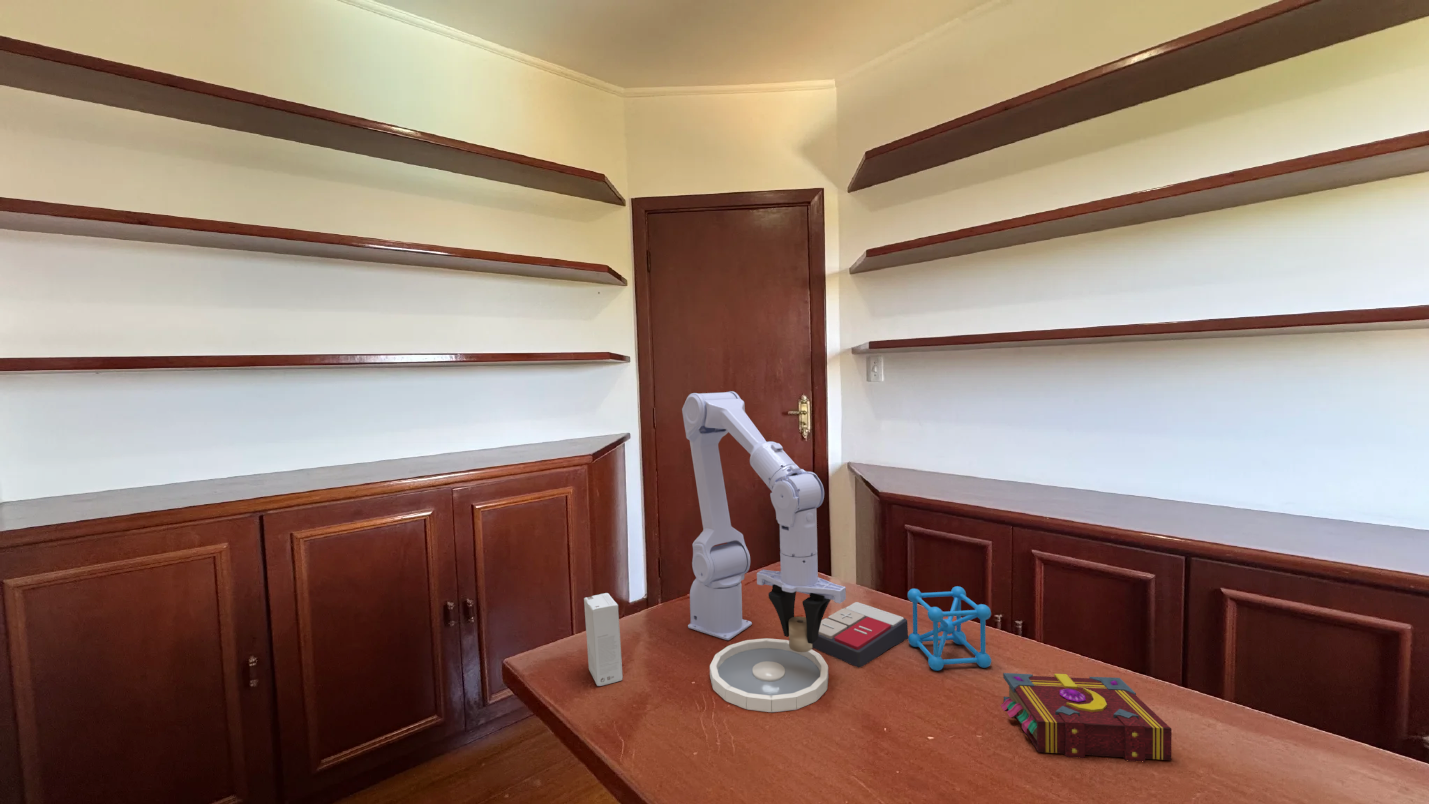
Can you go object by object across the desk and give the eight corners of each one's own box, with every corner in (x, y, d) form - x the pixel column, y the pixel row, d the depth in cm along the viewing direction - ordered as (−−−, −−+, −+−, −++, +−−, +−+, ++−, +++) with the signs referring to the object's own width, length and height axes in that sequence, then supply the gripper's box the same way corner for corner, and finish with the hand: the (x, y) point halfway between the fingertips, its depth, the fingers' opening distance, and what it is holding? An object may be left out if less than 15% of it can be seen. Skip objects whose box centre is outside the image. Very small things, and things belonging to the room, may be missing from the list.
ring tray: (687, 685, 85) (686, 674, 85) (751, 639, 100) (751, 629, 99) (791, 727, 74) (791, 714, 74) (846, 668, 89) (846, 657, 89)
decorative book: (1174, 766, 66) (1174, 724, 65) (1027, 757, 68) (1027, 716, 68) (1119, 709, 77) (1119, 673, 77) (994, 703, 79) (994, 668, 79)
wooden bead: (785, 648, 87) (784, 622, 87) (796, 639, 90) (795, 614, 90) (805, 654, 85) (805, 628, 85) (816, 645, 88) (815, 619, 88)
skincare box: (623, 680, 87) (621, 604, 87) (595, 688, 85) (592, 610, 85) (613, 663, 93) (610, 591, 92) (586, 669, 91) (583, 596, 90)
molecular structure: (994, 670, 87) (994, 607, 87) (932, 674, 87) (931, 610, 86) (962, 640, 97) (961, 583, 97) (906, 643, 97) (905, 586, 96)
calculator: (804, 626, 97) (855, 597, 107) (806, 649, 97) (856, 619, 107) (858, 648, 89) (908, 615, 98) (859, 674, 89) (909, 638, 99)
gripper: (745, 550, 88) (747, 635, 89) (830, 567, 79) (832, 661, 80) (768, 539, 94) (770, 619, 94) (850, 554, 85) (852, 641, 86)
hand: (800, 637), depth 87 cm, fingers closed on wooden bead, 4 cm apart
